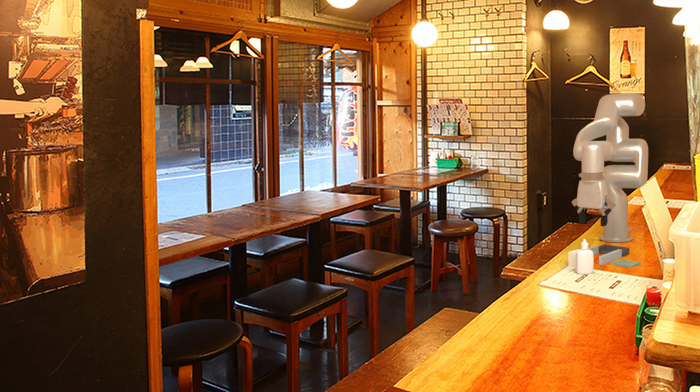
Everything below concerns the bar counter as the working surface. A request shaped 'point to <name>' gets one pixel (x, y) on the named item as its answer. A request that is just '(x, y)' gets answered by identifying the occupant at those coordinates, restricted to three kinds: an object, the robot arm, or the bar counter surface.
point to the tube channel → (606, 255)
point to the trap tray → (613, 249)
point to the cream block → (572, 258)
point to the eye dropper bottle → (584, 259)
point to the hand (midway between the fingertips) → (593, 224)
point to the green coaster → (626, 263)
